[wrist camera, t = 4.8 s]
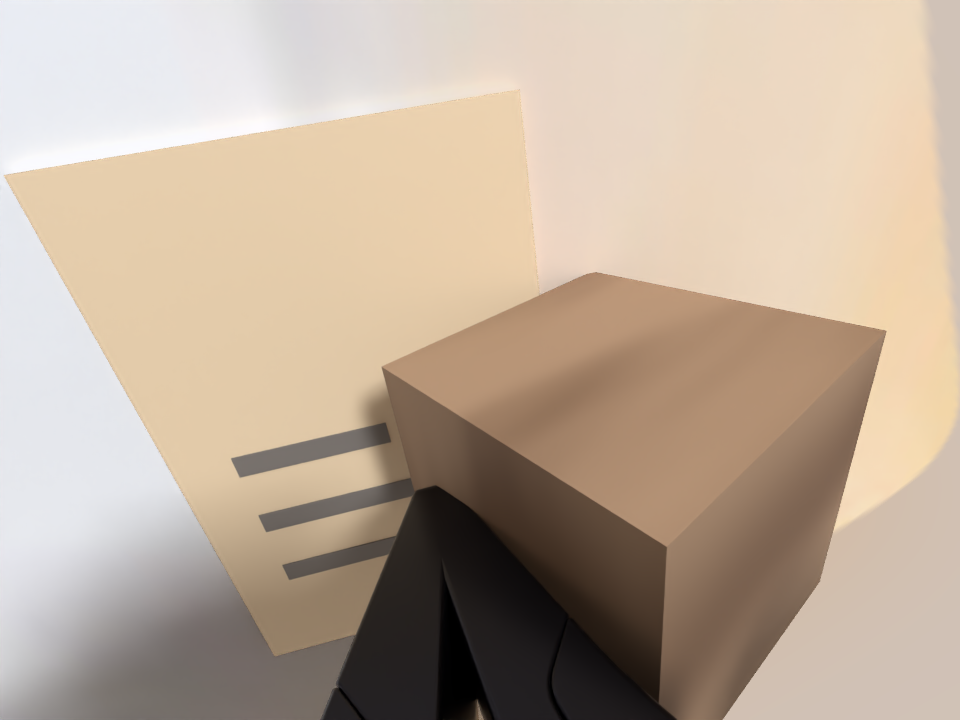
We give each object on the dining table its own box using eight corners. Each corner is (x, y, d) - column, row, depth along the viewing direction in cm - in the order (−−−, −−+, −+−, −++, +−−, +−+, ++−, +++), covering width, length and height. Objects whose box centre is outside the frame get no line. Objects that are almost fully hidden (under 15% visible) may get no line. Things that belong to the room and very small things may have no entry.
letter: (564, 570, 14) (567, 577, 14) (276, 649, 13) (274, 657, 13) (516, 90, 8) (519, 89, 8) (12, 173, 8) (2, 175, 7)
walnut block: (599, 460, 13) (819, 581, 9) (437, 580, 10) (653, 817, 6) (592, 271, 10) (886, 331, 7) (380, 366, 8) (667, 547, 4)
